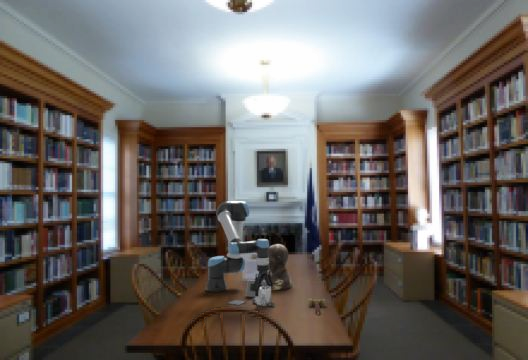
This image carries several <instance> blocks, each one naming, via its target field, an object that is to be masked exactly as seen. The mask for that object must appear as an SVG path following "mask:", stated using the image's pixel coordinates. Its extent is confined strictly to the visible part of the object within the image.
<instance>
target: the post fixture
mask: <svg viewBox="0 0 528 360" xmlns="http://www.w3.org/2000/svg"><path fill="white" fill-rule="evenodd" d="M268 303H271V307H275V300H274V301H273V300H270V301H269V302H268ZM252 304H256V303H255V297H253V298H252Z"/></svg>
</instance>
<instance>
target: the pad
mask: <svg viewBox="0 0 528 360" xmlns="http://www.w3.org/2000/svg"><path fill="white" fill-rule="evenodd" d="M227 304H228V305H233V306H237V307H238V306H241V305H244V304H246V301H243V300H238V299H237V300H236V299H234V300H232V301H229V302H227Z"/></svg>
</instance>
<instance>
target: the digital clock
mask: <svg viewBox="0 0 528 360" xmlns="http://www.w3.org/2000/svg"><path fill="white" fill-rule="evenodd" d="M254 282H255V279H248V280H247V281H246V290H245V291H246V292H245V297H250V298H255V291H254V290H253V286H254ZM261 286H265V287H267V286H268V285H267V283H266V281H265V280H263V281H262V283H261ZM261 286H260V287H261Z"/></svg>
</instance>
